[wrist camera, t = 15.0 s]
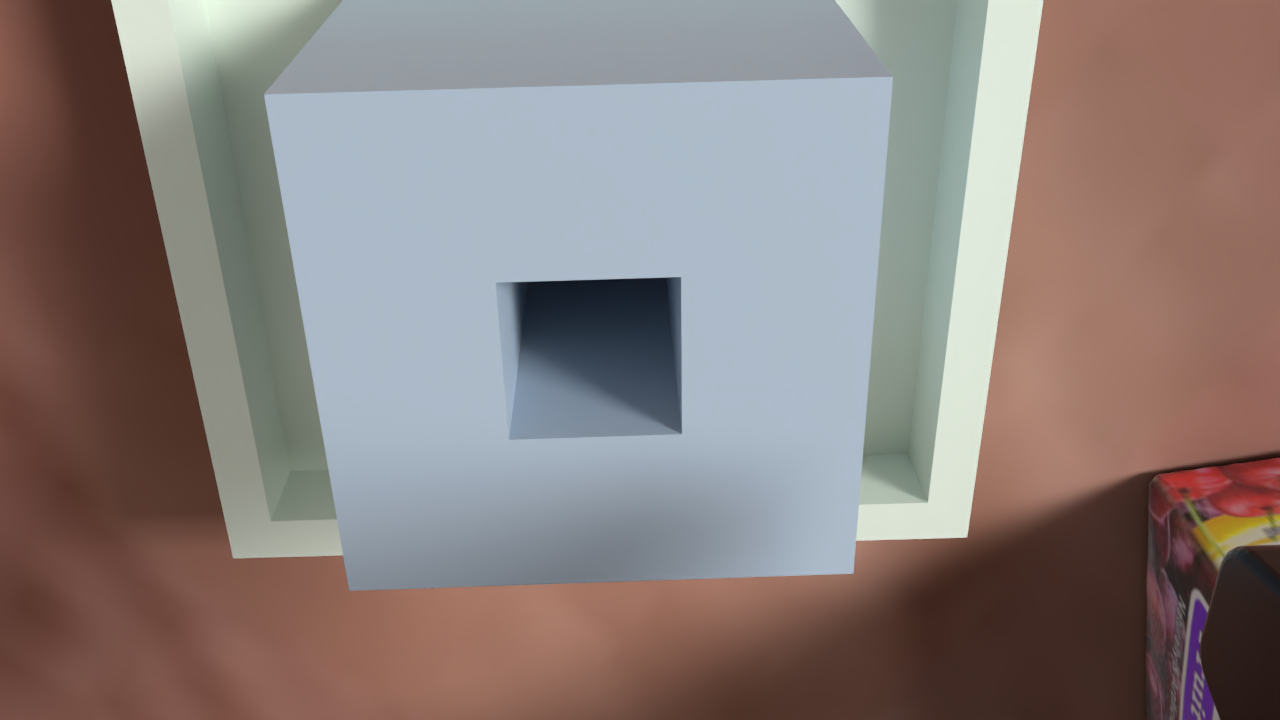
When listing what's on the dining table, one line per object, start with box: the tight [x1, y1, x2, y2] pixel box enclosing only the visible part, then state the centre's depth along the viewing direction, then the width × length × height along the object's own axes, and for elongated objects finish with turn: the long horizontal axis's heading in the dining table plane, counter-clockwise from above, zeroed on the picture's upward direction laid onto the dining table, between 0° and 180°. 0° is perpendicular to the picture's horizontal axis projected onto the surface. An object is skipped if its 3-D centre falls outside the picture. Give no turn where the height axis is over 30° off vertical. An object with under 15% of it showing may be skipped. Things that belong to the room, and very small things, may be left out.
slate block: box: [264, 0, 893, 591], centre depth 13 cm, size 5×5×5 cm
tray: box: [111, 0, 1043, 558], centre depth 15 cm, size 10×10×2 cm
